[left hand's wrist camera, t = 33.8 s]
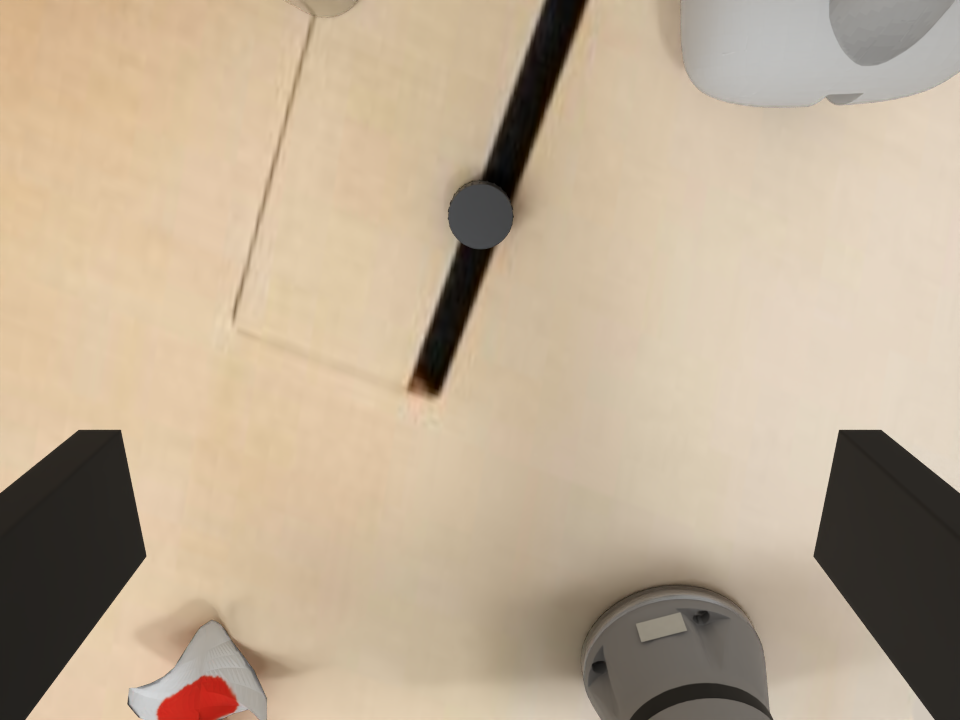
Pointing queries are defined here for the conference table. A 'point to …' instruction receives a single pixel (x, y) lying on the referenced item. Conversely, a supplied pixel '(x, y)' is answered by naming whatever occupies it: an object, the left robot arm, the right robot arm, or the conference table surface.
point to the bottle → (323, 7)
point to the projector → (818, 49)
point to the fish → (203, 683)
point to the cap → (480, 214)
